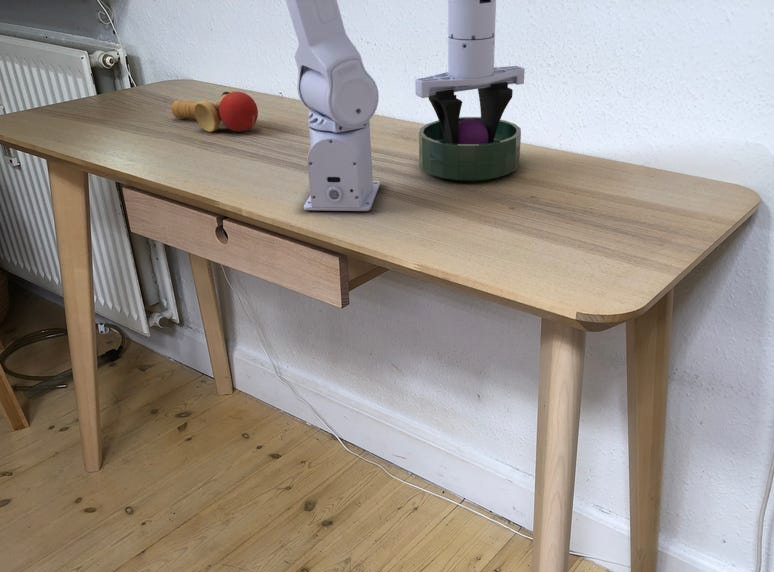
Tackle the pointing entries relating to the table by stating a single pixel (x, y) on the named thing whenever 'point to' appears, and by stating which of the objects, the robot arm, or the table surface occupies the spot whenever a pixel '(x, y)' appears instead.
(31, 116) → the table surface
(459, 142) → the ball
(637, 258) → the table surface
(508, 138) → the bowl
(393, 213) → the table surface
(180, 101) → the kendama
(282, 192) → the table surface
